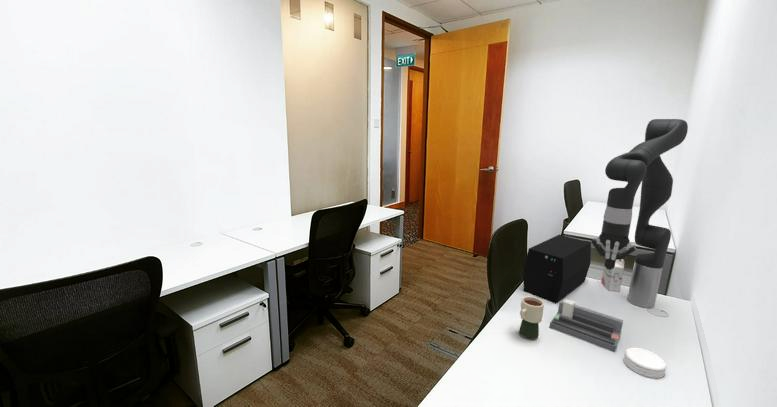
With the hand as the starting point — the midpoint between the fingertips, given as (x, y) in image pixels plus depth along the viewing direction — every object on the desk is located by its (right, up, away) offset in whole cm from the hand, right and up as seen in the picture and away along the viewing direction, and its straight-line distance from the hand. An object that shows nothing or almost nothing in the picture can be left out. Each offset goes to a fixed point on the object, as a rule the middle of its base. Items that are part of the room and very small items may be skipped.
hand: (608, 268), depth 115 cm
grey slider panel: (-6, -23, +5) cm, 24 cm away
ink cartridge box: (+26, -16, +39) cm, 50 cm away
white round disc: (+2, -28, -13) cm, 31 cm away
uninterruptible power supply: (0, -16, +38) cm, 42 cm away
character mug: (-27, -24, +2) cm, 36 cm away
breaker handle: (-10, -20, +8) cm, 24 cm away
